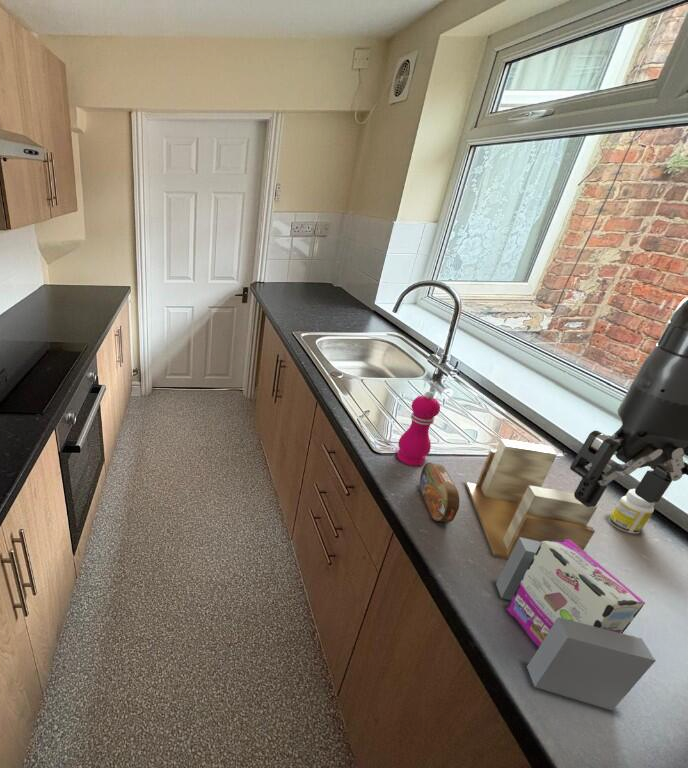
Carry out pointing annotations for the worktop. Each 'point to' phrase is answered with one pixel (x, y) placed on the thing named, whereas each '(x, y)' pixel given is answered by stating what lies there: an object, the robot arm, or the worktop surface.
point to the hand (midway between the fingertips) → (614, 500)
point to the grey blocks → (578, 649)
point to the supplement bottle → (631, 513)
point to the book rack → (525, 500)
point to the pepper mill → (418, 431)
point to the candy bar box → (570, 592)
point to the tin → (439, 492)
